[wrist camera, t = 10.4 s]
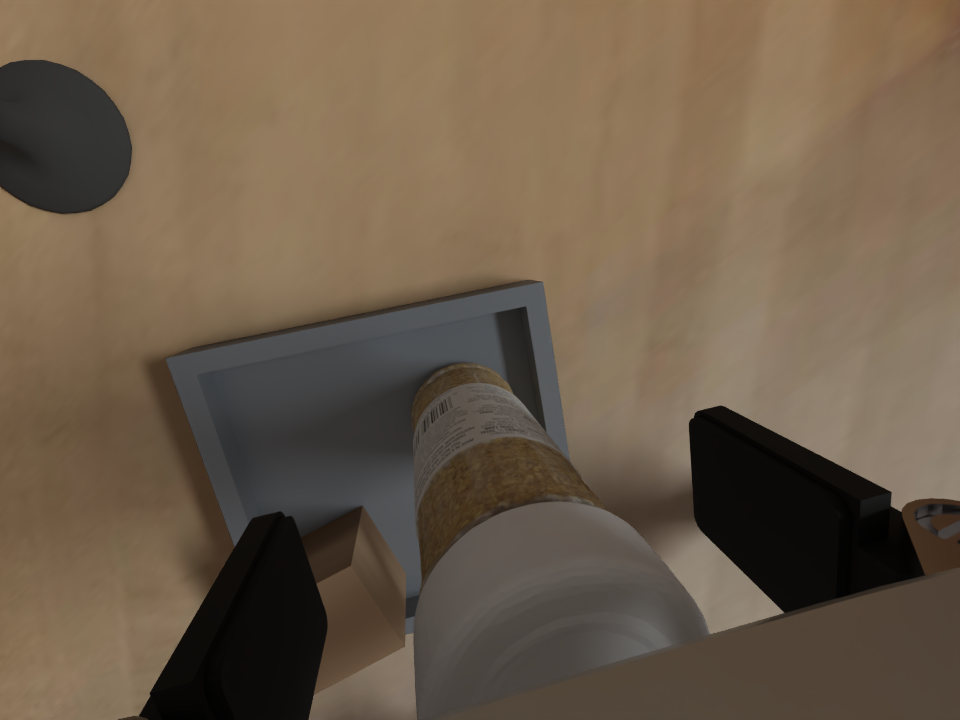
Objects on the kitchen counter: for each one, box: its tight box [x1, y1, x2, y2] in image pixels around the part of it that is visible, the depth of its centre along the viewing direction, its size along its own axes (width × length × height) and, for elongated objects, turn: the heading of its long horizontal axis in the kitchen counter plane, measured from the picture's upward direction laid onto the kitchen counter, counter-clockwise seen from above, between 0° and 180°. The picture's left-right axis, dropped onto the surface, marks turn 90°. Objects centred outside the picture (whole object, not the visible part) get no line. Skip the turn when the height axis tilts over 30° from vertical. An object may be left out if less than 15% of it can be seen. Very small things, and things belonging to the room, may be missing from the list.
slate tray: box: [165, 280, 570, 635], centre depth 19 cm, size 14×14×2 cm
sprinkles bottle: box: [411, 363, 710, 720], centre depth 13 cm, size 5×5×13 cm
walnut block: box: [301, 506, 406, 694], centre depth 18 cm, size 4×4×4 cm
